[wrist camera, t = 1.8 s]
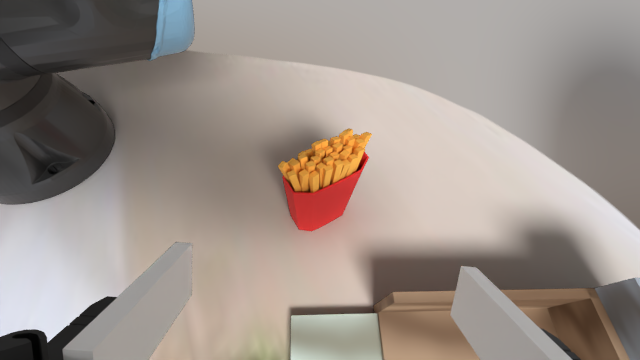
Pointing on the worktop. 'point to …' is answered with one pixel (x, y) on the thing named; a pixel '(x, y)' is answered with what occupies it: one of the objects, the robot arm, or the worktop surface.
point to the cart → (449, 342)
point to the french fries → (324, 179)
